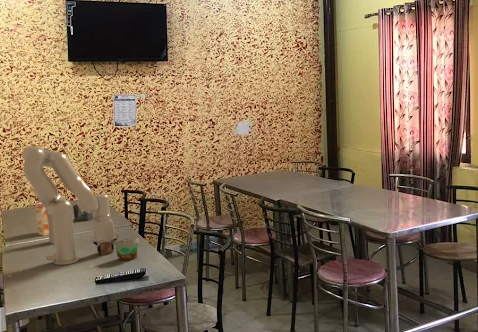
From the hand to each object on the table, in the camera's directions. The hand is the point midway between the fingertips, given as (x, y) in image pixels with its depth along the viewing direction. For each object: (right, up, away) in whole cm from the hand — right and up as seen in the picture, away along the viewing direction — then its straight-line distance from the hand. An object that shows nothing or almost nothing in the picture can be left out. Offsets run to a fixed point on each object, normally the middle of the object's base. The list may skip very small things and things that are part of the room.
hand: (105, 251), depth 278 cm
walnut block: (0, -1, 0) cm, 1 cm away
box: (-35, +8, +82) cm, 90 cm away
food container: (+14, -2, -13) cm, 20 cm away
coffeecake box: (-46, +4, +51) cm, 69 cm away
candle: (-32, +1, +26) cm, 41 cm away
